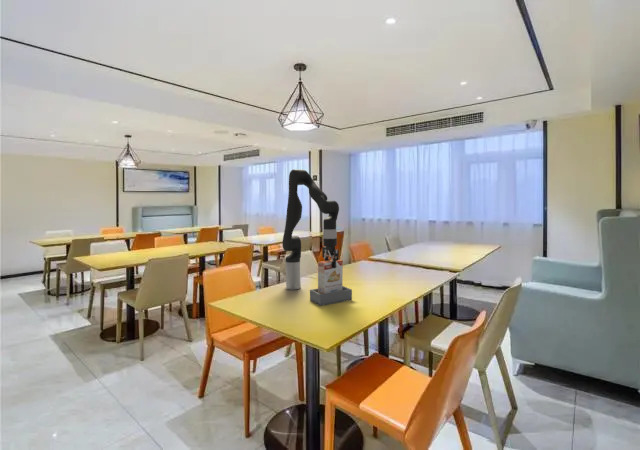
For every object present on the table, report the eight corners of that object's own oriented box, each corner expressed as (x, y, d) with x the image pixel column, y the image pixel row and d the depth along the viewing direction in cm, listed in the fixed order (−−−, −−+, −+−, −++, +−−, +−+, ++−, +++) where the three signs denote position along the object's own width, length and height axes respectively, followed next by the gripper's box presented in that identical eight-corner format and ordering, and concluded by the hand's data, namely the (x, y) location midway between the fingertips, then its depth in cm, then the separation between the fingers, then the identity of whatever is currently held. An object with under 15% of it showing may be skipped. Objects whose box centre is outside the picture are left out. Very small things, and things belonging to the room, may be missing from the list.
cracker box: (324, 301, 180) (324, 262, 179) (317, 299, 185) (317, 261, 184) (343, 296, 190) (343, 259, 189) (335, 294, 194) (335, 258, 193)
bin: (310, 300, 188) (309, 289, 187) (340, 294, 197) (340, 284, 197) (320, 306, 177) (320, 294, 177) (351, 300, 187) (351, 289, 186)
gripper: (317, 236, 189) (318, 265, 190) (330, 239, 177) (331, 270, 178) (329, 235, 193) (329, 264, 194) (342, 238, 180) (343, 268, 181)
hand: (330, 266), depth 186 cm, fingers open, 7 cm apart
